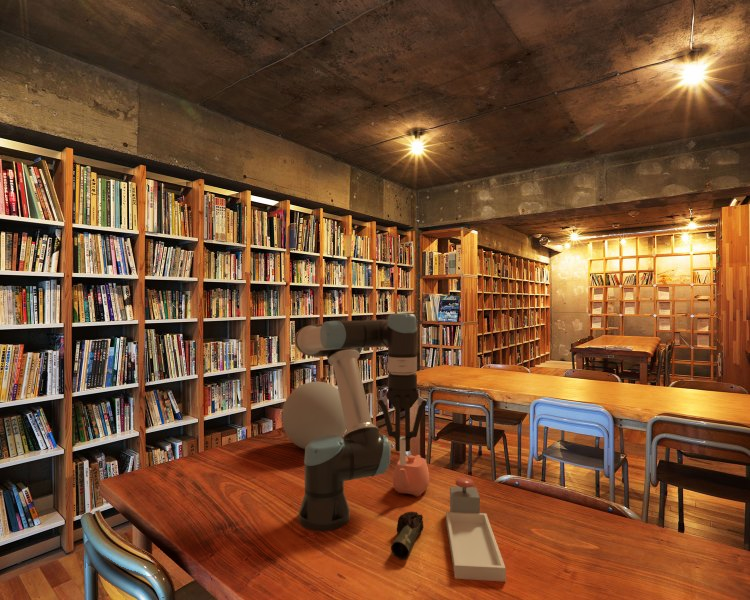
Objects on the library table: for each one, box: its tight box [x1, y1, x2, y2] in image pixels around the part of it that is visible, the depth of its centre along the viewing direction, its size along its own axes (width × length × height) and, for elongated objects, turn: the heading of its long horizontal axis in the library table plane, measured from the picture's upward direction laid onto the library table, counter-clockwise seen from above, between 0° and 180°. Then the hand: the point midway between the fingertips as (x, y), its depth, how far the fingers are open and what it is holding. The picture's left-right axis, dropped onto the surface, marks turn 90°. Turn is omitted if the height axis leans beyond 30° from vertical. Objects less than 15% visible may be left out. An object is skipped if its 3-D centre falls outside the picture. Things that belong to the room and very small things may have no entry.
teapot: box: [392, 454, 430, 497], centre depth 145 cm, size 20×12×12 cm, turn 158°
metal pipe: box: [390, 511, 424, 561], centre depth 113 cm, size 18×7×6 cm, turn 159°
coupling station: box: [445, 477, 507, 582], centre depth 114 cm, size 12×33×11 cm, turn 175°
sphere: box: [281, 381, 347, 450], centre depth 189 cm, size 30×30×30 cm
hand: (402, 463), depth 109 cm, fingers closed
